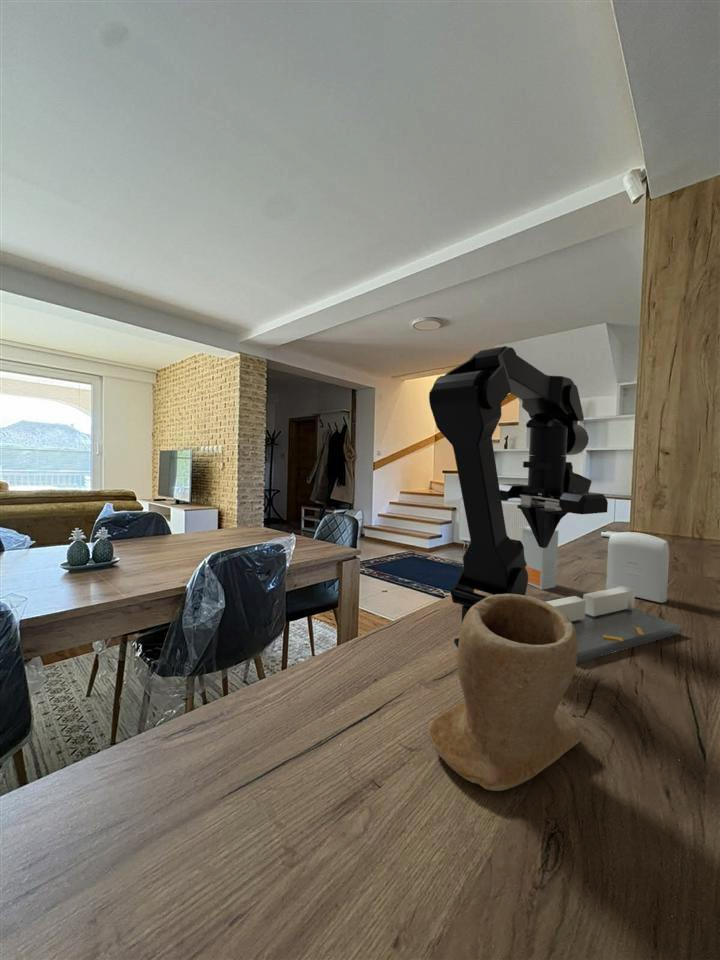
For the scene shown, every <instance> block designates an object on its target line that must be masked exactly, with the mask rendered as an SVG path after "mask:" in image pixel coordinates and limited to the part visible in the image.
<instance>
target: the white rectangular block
mask: <svg viewBox="0 0 720 960" xmlns="http://www.w3.org/2000/svg"><path fill="white" fill-rule="evenodd" d="M545 602H547V603H549V604H550V605H552V606H554V607H556V608H557V609H559V610H560V611H561V612H562V613H563V614H564V615H565V616H566V617H567V618H568V619H569V620H570V621H576V620H580V619H584V618H585V605H586V600H584V599H583V597H582V598H581V597H579V596H576V595H572V596H567V597H563V598H558V599H553V600H547V601H545Z"/></svg>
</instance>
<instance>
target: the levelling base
mask: <svg viewBox="0 0 720 960" xmlns="http://www.w3.org/2000/svg"><path fill="white" fill-rule="evenodd" d="M571 623H572V624H573V626H574V627H575V630H576V634H577V640H578V648H577V663H576V665H577V664H580V663H584V662H588V661H591V660H594V658H595V659H597V658H596V657H598V658H600V657H599V656H601V655H605V654H608V653H611V652H614V651H618V650H622V649H626V648H630V649H632V648H631V647H633V648H635V646H637V647H639V646H638V645H640V646H643V645H642V644H644V645H646V644H650V643H649V642H651V643H653V641H654V642H657V641H656V640H658V641H660V640H659V639H661V640H664V639H663V638H665V639H667V638H666V637H668V638H671V637H670V636H672V637H674V636H673V635H675V636H677V635H676V634H678V635H679V630H680V629H679V627H680V625H679V624H676V623H674V622H672V621H668V620H665V619H663V618H660V617H657V616H654V615H653V614H649V613H647V612H643V611H641V610H638V609H637V608H634V607H633V608H631V609H624V610H619V611H615V612H611V613H606V614H602V615H598V616H591V615H589V614H586V613H585V618H584V619H580V620H576V621H571ZM626 650H627V649H626ZM605 656H606V655H605Z"/></svg>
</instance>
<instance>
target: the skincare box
mask: <svg viewBox="0 0 720 960" xmlns="http://www.w3.org/2000/svg"><path fill="white" fill-rule="evenodd" d="M521 542H522V544H523V546H524V557H525V561H526V563H527V566H525V568H526V571H527V573H528V584H527V585H530V586H532V587H534V588H537V589H539V590H543V591H544V590H548V589H552V588H556V586H557V583H556V582H557V568H558V565H557V564H558V563H557V562H558V548H559V547H558V546H559V545H558V544H559V530H557V529H555V531H554V534H553V536H552V538H551V540H550V542H549V545H548V547H547V548H541V547H539V545H538V543H537V541H536V539H535V536H534V534H533V532H532V530H531V528H530V526H529V525H527V526H522V527H521Z"/></svg>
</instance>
